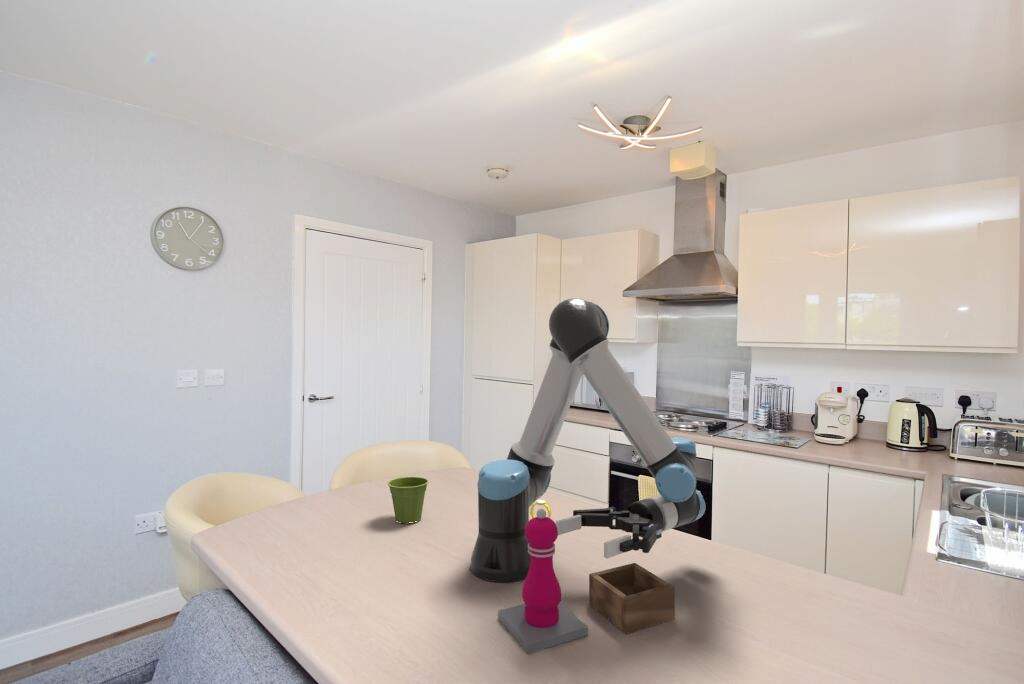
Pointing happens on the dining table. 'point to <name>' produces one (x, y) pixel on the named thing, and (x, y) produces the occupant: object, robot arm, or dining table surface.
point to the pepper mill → (541, 573)
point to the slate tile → (538, 636)
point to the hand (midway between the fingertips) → (579, 538)
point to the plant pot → (408, 497)
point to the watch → (541, 502)
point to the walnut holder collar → (631, 597)
